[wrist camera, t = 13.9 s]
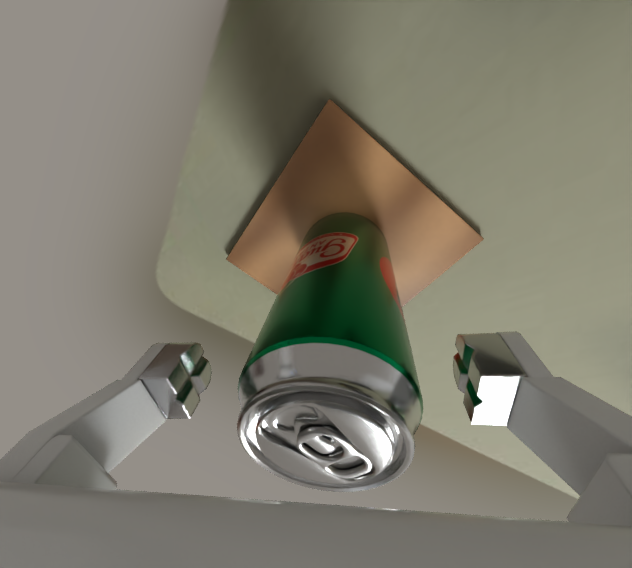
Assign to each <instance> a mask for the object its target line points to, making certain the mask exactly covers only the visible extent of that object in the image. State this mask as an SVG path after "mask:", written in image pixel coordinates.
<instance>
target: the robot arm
mask: <svg viewBox="0 0 632 568" xmlns="http://www.w3.org/2000/svg"><path fill="white" fill-rule="evenodd" d="M455 345H456V348H457V350H458V353H457V354H456V355H455V356H454V359H453V371H454V377H455V381H456V384H457V387H458V389H459V390H460V391H462V392H463V393H464V394H465V395H464V401H463V403H464V405H465V408H466V410H467V413H468V416H469V418H470V421H471V423H472V424H481V425H503V426H507V428H508V429H509V430H510V431H511V432H512V433H513V434H515V435H516V436H517V437H518V438H519V439H520V440H521V441H522V442H523V443H524V444H525V445H526V446H527V447H528V448H530V449H531V450H532V451H533V452H534V453H535V454H536V455H537V456H538V457H539V458H540V459H541V460H542V461H543V462H545V463H546V464H547V465H548V466H549V467H550V468H551V469H552V470H553V471H554V472H555V473H556V474H557V475H558V476H560V477H561V478H562V479H563V480H564V481H565V482H566V483H567V484H568V485H569V486H570V487H571V488H572V489H573V490H575V491H576V492H577V493H578V494H579V495H580V497H579V498H578V500H577V502H576V503H575V505H574V507H573V508H572V510H571V511H570V513H569V515H568V516H567V518H568V521H569V522H564V521H563V522H562V521H550V520H535V519H521V518H507V517H494V516H480V515H466V514H465V515H464V514H451V513H438V512H423V511H411V510H397V509H383V508H369V507H355V506H340V505H327V504H313V503H299V502H286V501H270V500H258V499H244V498H230V497H229V498H228V497H215V496H201V495H187V494H173V493H158V492H145V491H130V490H116V487H117V483H116V481H115V480H114V479H113V478H112V477H111V476H110V475H109V472H110V471H111V470H112V469H113V468H114V467H115V466H116V465H118V464H119V463H120V462H121V461H122V460H123V459H124V458H125V457H126V456H127V455H129V454H130V453H131V452H132V451H133V450H134V449H135V448H136V447H137V446H138V445H140V444H141V443H142V442H143V441H144V440H145V439H146V438H147V437H148V436H149V435H150V434H152V433H153V432H154V431H155V430H156V429H157V428H158V427H159V426H160V425H161V424H163V423H164V422H165V421H166V419H181V418H182V419H183V418H191V416H192V414H193V413H194V411H195V409H196V407H197V405H198V403H199V401H200V397H199V394H200V393H202V392H203V391H204V390H206V389H207V387H208V385H209V383H210V380H211V374H212V371H211V365H210V363H209V361H208V360H207V359H205V358H204V357H202V355H203V353H204V350H203V348H202V346H201V344H199V343H156V344H154V345H152V346H151V347H150V348H149V349H148V351H147V352H146V353H145V354H144V355H143V356H142V357H141V359H140V360H139V361H138V362H137V363H136V364H135V365H134V366H133V368H131V370H130V371H129V372H128V373H127V374H126V375H125V376H124V378H123V379H122V380H116V381H115V382H113V383H111V384H109V385H108V386H106V387H104V388H103V389H101V390H99V391H98V392H96V393H94V394H92V395H91V396H89V397H87V398H86V399H84V400H82V401H81V402H79V403H77V404H76V405H74V406H72V407H70V408H69V409H67V410H65V411H64V412H62V413H60V414H59V415H57V416H56V417H53V418H52V419H50V420H48V421H47V422H45V423H44V424H42V425H40V426H38V427H37V428H35V429H33V430H31V431H30V432H29V433H28V434H26V435H25V436H24V437H23V438H22V439H21V440H20V441H19V442H18V443H17V444H16V445H15V446H14V447H13V448H12V449H11V450H10V451H9V452H8V453H7V454H6V455H5V456H4V457H3V458H2V459H1V460H0V568H632V417H631V416H629V415H628V414H626V413H624V412H622V411H621V410H619V409H617V408H615V407H613V406H612V405H610V404H608V403H606V402H604V401H603V400H601V399H599V398H597V397H595V396H594V395H592V394H590V393H588V392H586V391H585V390H583V389H581V388H579V387H577V386H576V385H574V384H572V383H570V382H568V381H567V380H565V379H563V378H561V377H553V375H552V374H551V373H550V371H549V370H548V369H547V368H546V366H545V365H544V364H543V362H542V361H541V360H540V359H539V357H538V356H537V355H536V353H535V352H534V351H533V350H532V348H531V347H530V346H529V344H528V343H527V342H526V340H525V339H524V338H523V337H522V335H521V334H520V333H518V332H497V333H480V334H458V335H457V338H456V343H455Z"/></svg>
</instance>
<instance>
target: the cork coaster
mask: <svg viewBox="0 0 632 568" xmlns="http://www.w3.org/2000/svg"><path fill="white" fill-rule="evenodd" d="M340 212H349V213H355V214H359V215H362V216H364V217H366V218H368V219H369V220H371V221H372V222H374V223H375V224H376V225H377V226H378V227H379V228H380V230H381V231H382V232H383V234H384V236H385V238H386V241H387V245H388V249H389V253H390V258H391V262H392V267H393V271H394V275H395V280H396V284H397V289H398V293H399V297H400V302H401V306H402V307H403V306H404V305H405V304H406V303H408V302H409V301H410V300H411V299H412V298H414V297H415V296H416V295H417V294H418V293H420V292H421V291H422V290H423V289H424V288H426V287H427V286H428V285H429V284H430V283H432V282H433V281H434V280H435V279H437V278H438V277H439V276H440V275H441V274H443V273H444V272H445V271H446V270H447V269H449V268H450V267H451V266H452V265H453V264H455V263H456V262H457V261H458V260H459V259H461V258H462V257H463V256H464V255H465V254H467V253H468V252H469V251H470V250H471V249H473V248H474V247H475V246H476V245H477V244H479V243H480V242H481V241H482V240H483V239H484V238H483V237H482V236H481V235H479V234H478V233H477V232H476V231H475V230H474V229H473V228H472V227H471V226H469V225H468V224H467V223H466V222H465V221H464V220H463V219H462V218H461V217H460V216H458V215H457V214H456V213H455V212H454V211H453V210H452V209H451V208H450V207H449V206H447V205H446V204H445V203H444V202H443V201H442V200H441V199H440V198H439V197H438V196H436V195H435V194H434V193H433V192H432V191H431V190H430V189H429V188H428V187H427V186H425V185H424V184H423V183H422V182H421V181H420V180H419V179H418V178H417V177H415V176H414V175H413V174H412V173H411V172H410V171H409V170H408V169H407V168H406V167H404V166H403V165H402V164H401V163H400V162H399V161H398V160H397V159H396V158H395V157H393V156H392V155H391V154H390V153H389V152H388V151H387V150H386V149H385V148H384V147H382V146H381V145H380V144H379V143H378V142H377V141H376V140H375V139H374V138H372V137H371V136H370V135H369V134H368V133H367V132H366V131H365V130H364V129H363V128H361V127H360V126H359V125H358V124H357V123H356V122H355V121H354V120H353V119H352V118H350V117H349V116H348V115H347V114H346V113H345V112H344V111H343V110H342V109H341V108H339V107H338V106H337V105H336V104H335V103H334V102H333V101H332V100H331V99H329V100H328V101H327V103H326V104H325V106H324V107H323V109H322V111H321V112H320V114H319V115H318V117H317V118H316V120H315V121H314V123H313V125H312V126H311V128H310V129H309V131H308V132H307V134H306V135H305V137H304V139H303V140H302V142H301V143H300V145H299V146H298V148H297V149H296V151H295V153H294V154H293V156H292V157H291V159H290V160H289V162H288V163H287V165H286V167H285V168H284V170H283V171H282V173H281V174H280V176H279V177H278V179H277V181H276V182H275V184H274V185H273V187H272V188H271V190H270V191H269V193H268V195H267V196H266V198H265V199H264V201H263V202H262V204H261V205H260V207H259V209H258V210H257V212H256V213H255V215H254V216H253V218H252V219H251V221H250V223H249V224H248V226H247V227H246V229H245V230H244V232H243V233H242V235H241V237H240V238H239V240H238V241H237V243H236V244H235V246H234V247H233V249H232V251H231V252H230V254H229V255H228V257H227V258H226V260H228V261H229V262H231V263H232V264H234V265H235V266H236V267H238V268H239V269H241V270H242V271H244V272H245V273H247V274H248V275H250V276H251V277H252V278H254V279H255V280H257V281H258V282H260V283H261V284H263V285H264V286H266V287H267V288H269V289H270V290H271V291H273V292H274V293H276V294H277V295H278V293H279V291H280V289H281V287H282V284H283V282H284V280H285V278H286V276H287V274H288V272H289V269H290V267H291V265H292V263H293V261H294V259H295V257H296V254H297V252H298V250H299V248H300V246H301V244H302V242H303V239H304V237H305V235H306V233H307V232H308V230H309V229H310V228H311V227H312V225H313V224H315V223H316V222H317V221H318V220H320V219H322V218H323V217H325V216H328V215H330V214H334V213H340Z"/></svg>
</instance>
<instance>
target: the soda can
mask: <svg viewBox="0 0 632 568" xmlns="http://www.w3.org/2000/svg"><path fill="white" fill-rule="evenodd" d="M238 397H239V401H240V405H241V411H240V413H239V416H238V423H237V431H238V437H239V440H240V443H241V444H242V446H243V448H244V449H245V451H246V452H247V453H248V455H249V456H250V457H251V458H252V459H253V460H254V461H255V462H256V463H257V464H259V465H260V466H262V467H263V468H264V469H265V470H267V471H269V472H270V473H272V474H274V475H276V476H277V477H280V478H282V479H284V480H286V481H289V482H292V483H294V484H297V485H300V486H304V487H308V488H312V489H317V490H324V491H333V492H353V491H362V490H369V489H373V488H377V487H380V486H382V485H385V484H388V483H390V482H391V481H393V480H395V479H397V478H398V477H399V476H401V475H402V474H403V473H404V472H405V471H406V470H407V469H408V467H409V466H410V464H411V462H412V460H413V456H414V449H415V441H414V434H415V432H416V430H417V429H418V426H419V424H420V422H421V419H422V414H423V400H422V395H421V390H420V386H419V381H418V377H417V372H416V368H415V364H414V359H413V355H412V350H411V346H410V342H409V337H408V333H407V328H406V324H405V319H404V315H403V311H402V306H401V302H400V297H399V293H398V289H397V284H396V280H395V275H394V271H393V267H392V262H391V258H390V253H389V249H388V245H387V241H386V238H385V236H384V234H383V232H382V231H381V230H380V228H379V227H378V226H377V225H376V224H375V223H374V222H372V221H371V220H369V219H368V218H366V217H364V216H362V215H359V214H355V213H349V212H340V213H334V214H330V215H328V216H325V217H323V218H322V219H320V220H318V221H317V222H316V223H315V224H313V225H312V227H311V228H310V229H309V230H308V232H307V233H306V235H305V237H304V239H303V242H302V244H301V246H300V248H299V250H298V252H297V254H296V257H295V259H294V261H293V263H292V265H291V267H290V269H289V272H288V274H287V276H286V278H285V280H284V282H283V284H282V287H281V289H280V291H279V293H278V295H277V297H276V299H275V302H274V304H273V306H272V308H271V310H270V312H269V314H268V317H267V319H266V321H265V323H264V325H263V327H262V329H261V332H260V334H259V336H258V338H257V340H256V342H255V344H254V347H253V349H252V351H251V353H250V355H249V357H248V359H247V362H246V364H245V366H244V368H243V370H242V373H241V375H240V378H239V384H238Z"/></svg>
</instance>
